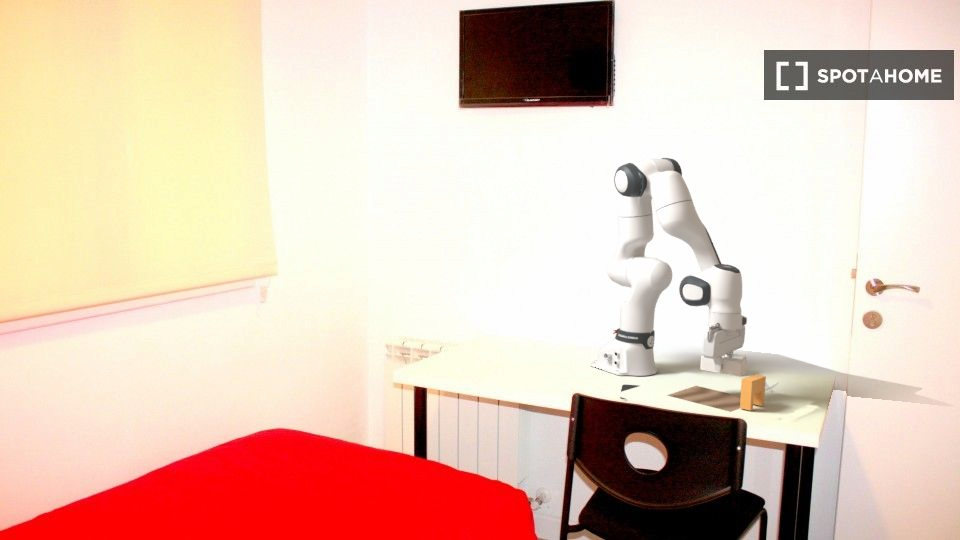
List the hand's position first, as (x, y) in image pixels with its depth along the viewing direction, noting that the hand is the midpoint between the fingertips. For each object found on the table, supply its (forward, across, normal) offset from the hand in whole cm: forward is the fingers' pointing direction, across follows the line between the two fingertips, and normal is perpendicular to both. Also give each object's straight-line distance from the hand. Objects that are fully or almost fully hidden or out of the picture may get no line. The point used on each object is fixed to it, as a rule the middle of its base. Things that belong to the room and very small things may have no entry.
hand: (722, 368), depth 210 cm
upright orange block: (+8, -4, -11) cm, 14 cm away
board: (+10, -3, +1) cm, 10 cm away
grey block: (+11, +35, +11) cm, 38 cm away
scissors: (+11, +23, -5) cm, 26 cm away
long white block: (+1, 0, 0) cm, 1 cm away
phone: (+10, -10, +23) cm, 27 cm away
